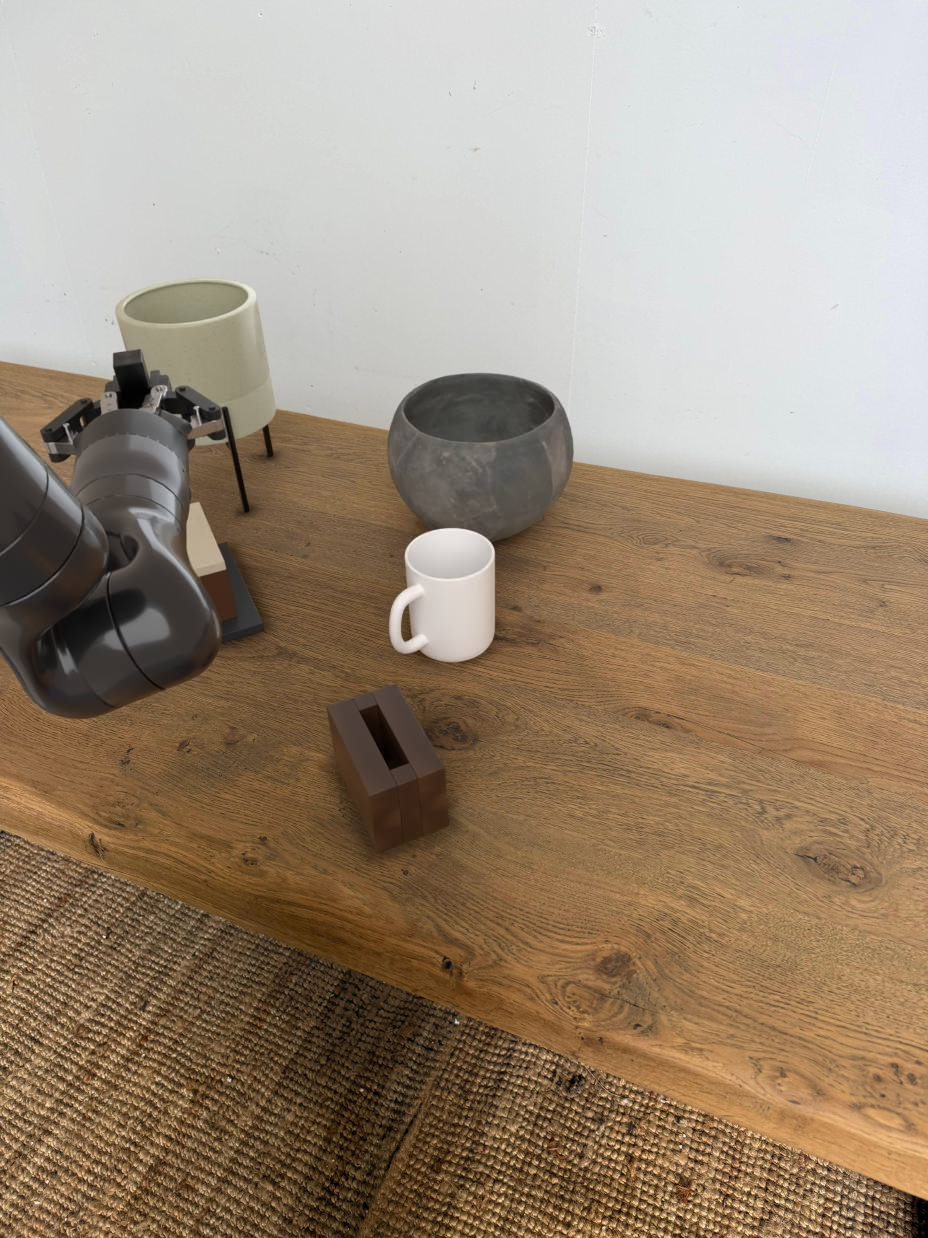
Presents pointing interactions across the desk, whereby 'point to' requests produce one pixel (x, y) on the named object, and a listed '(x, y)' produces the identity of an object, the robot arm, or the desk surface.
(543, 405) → the bowl
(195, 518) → the cake
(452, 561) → the cup
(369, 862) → the desk surface
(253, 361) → the planter
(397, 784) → the knife block
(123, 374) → the knife
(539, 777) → the desk surface
